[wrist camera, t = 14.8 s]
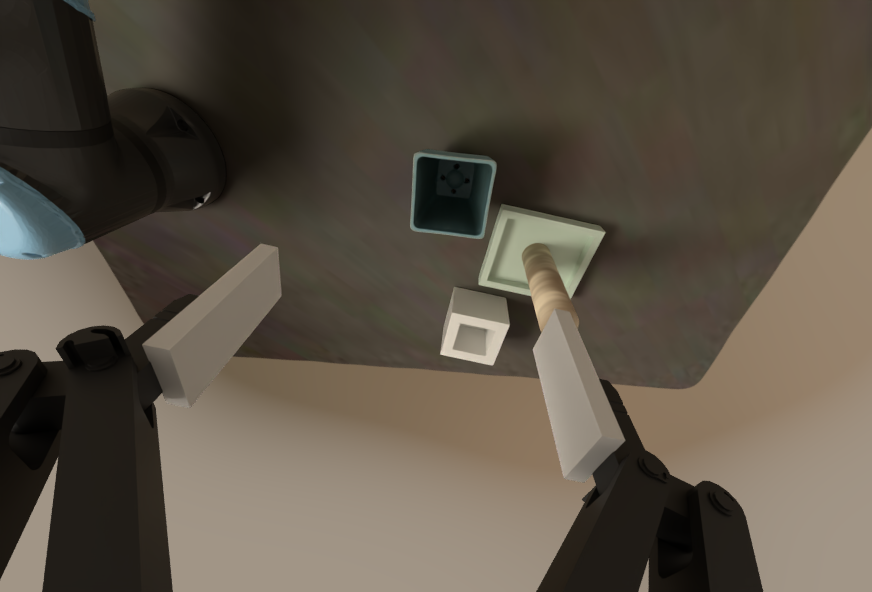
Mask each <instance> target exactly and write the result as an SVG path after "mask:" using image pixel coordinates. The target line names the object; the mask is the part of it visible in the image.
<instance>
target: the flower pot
mask: <svg viewBox="0 0 872 592" xmlns="http://www.w3.org/2000/svg"><path fill="white" fill-rule="evenodd" d="M456 164H458V165H459V167H458V168H455V165H456ZM496 169H497V163H496V162H495V161H494V160H493V159H491V158H490V157H488V156H482V155H473V154H464V153H455V152H446V151H438V150H430V149H427V150H422V151H419V152H417V153H415V154H414V157H413V179H412V202H411V219H410V228H411V229H412V230H414V231H417V232H426V233H435V234H436V233H437V234H445V235H452V236H460V237H467V238H475V239H482V238H483V237H484V235H485V229H486V223H487V217H488V211H489V205H490V200H491V194H492V189H493V184H494V179H495V174H496ZM442 176H445V179H444V180H443V179H442V178H441V177H442ZM466 178H468V179H469V182H466V181H465V179H466ZM453 189H455V190H456V192H455V193H452V190H453Z"/></svg>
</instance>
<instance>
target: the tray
mask: <svg viewBox="0 0 872 592" xmlns="http://www.w3.org/2000/svg"><path fill="white" fill-rule="evenodd" d="M604 234H605V231H604V230H603V229H602V227H601V226H599V225H595V224H590V223H586V222H581V221H577V220H572V219H568V218H563V217H559V216H554V215H550V214H545V213H541V212H536V211H532V210H527V209H523V208H519V207H514V206H510V205H505V204H501V207H500V210H499V213H498V216H497V220H496V223H495V226H494V229H493V233H492V236H491V239H490V242H489V245H488V249H487V252H486V255H485V258H484V261H483V265H482V268H481V271H480V274H479V285H482V286H487V287H492V288H496V289H501V290H505V291H510V292H515V293H519V294H524V295H529V296H531V292H530V288H529V284H528V280H527V277H526V273H525V269H524V265H523V261H522V253H523V251H524V249H525V248H526V247H527V246H529V245H531V244H534V243H541V244H544V245H546V246H547V247H548V248H549V250H550V253H551V255H552V257H553V260H554V262H555V265H556V267H557V269H558V272H559V274H560V276H561V279H562V281H563V283H564V286H565V288H566V290H567V293H568V295H569V297H570V299H571V297H572V295H573V294H574V292H575V290H576V288H577V286H578V284H579V282H580V280H581V278H582V276H583V274H584V273H585V271H586V269H587V267H588V265H589V263H590V261H591V259H592V257H593V255H594V253H595V252H596V250H597V248H598V246H599V244H600V242H601V240H602V238H603V236H604Z"/></svg>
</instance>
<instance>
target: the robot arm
mask: <svg viewBox="0 0 872 592" xmlns="http://www.w3.org/2000/svg"><path fill="white" fill-rule="evenodd" d="M93 21H96V20H95V16H94V14H93V13H92V12H91V10H90V7H89V3H88V0H0V255H2V256H6V257H10V258H16V259H29V260H32V259H41V258H45V257H49V256H52V255H54V254H57V253H60V252H63V251H66V250H68V249H75V248H79V247H81V246H82V245H84V244H85V243H88V242H90V241H92V240H95V239H97V238H99V237H101V236H103V235H106V234H108V233H110V232H112V231H114V230H117V229H119V228H121V227H123V226H125V225H128V224H130V223H132V222H134V221H136V220H139V219H141V218H143V217H145V216H147V215H150V214H152V213H154V212H173V211H191V210H195V209H199V208H201V207H203V206H205V205H207V204H209V203H211V202H213V201H214V200H216V199H217V198H218V197H219V196H220V194H221V193H222V191H223V188H224V185H225V181H226V167H225V161H224V157H223V154H222V151H221V149H220V146H219V144H218V142H217V140H216V139H215V137H214V135H213V133H212V132H211V131H210V129H209V128H208V126H207V125H206V124H205V123H204V121H203V120H202V119H201V118H200V117H199V116H198V115H197V114H196V113H195V112H194V111H193V110H192V109H191V108H189V107H188V106H187V105H186V104H184V103H183V102H181V101H180V100H178V99H177V98H175V97H173V96H171V95H169V94H167V93H165V92H162V91H159V90H155V89H150V88H130V89H122V90H119V91H115V92H113V93H111V94H110V95H108V96H107V93H106V88H105V83H104V78H103V73H102V67H101V62H100V57H99V52H98V46H97V41H96V36H95V31H94V26H93ZM280 297H281V282H280V268H279V255H278V247H274V246H269V245H265V244H260V245H259V246H258V247H256V248H255V249H254V250H253V251H252V252H251V253H249V254H248V255H247V256H246V257H245V258H243V259H242V260H241V261H240V262H239V263H238V264H236V265H235V266H234V267H233V268H232V269H231V270H229V271H228V272H227V273H226V274H225V275H223V276H222V277H221V278H220V279H219V280H218V281H216V282H215V283H214V284H213V285H212V286H210V287H209V288H208V289H207V290H206V291H205V292H203V293H202V294H201V295H200V296H197V295H192V294H188V295H186V296H184V297H181V298H179V299H177V300H174V301H173V302H172V303H170V304H169V305H168V306H167V307H165V308H164V309H163V311H162V312H161V311H160V312H159V313H158V314H156V315H155V316H154V317H153V319H150V320H149V321H148V322H146V323H145V324H144V325H143V326H141V327H140V328H139V329H138V330H136V331H135V332H134V333H133V334H131V335H130V336H129V337H127V338H126V339H125V340H124V337H123V335H122V333H121V331H120V330H119V329H117V328H115V327H111V326H94V327H89V328H85V329H81V330H78V331H76V332H74V333H72V334H70V335H68V336H67V337H65V338H64V339H62V340H61V341H60V342H59V344H58V345H57V347H56V350H57V352H58V353H59V355H60V356H61V358H62V359H63V361H53V362H41V360H40V359H39V357H38V356H37V355H36V353H35V352H32V351H29V350H10V351H4V352H0V579H1V577H2V575H3V573H4V570H5V568H6V566H7V564H8V562H9V560H10V558H11V555H12V553H13V551H14V549H15V547H16V545H17V543H18V541H19V539H20V536H21V534H22V532H23V530H24V528H25V526H26V524H27V522H28V520H29V517H30V515H31V513H32V511H33V509H34V507H35V505H36V503H37V500H38V498H39V496H40V494H41V492H42V490H43V488H44V485H45V483H46V481H47V479H48V477H49V475H50V473H51V471H52V469H53V466H54V464H55V462H56V460H57V458H58V465H57V473H56V482H55V490H54V499H53V507H52V515H51V524H50V532H49V540H48V548H47V557H46V565H45V573H44V582H43V590H42V592H173V590H172V579H171V568H170V557H169V547H168V536H167V525H166V514H165V504H164V493H163V482H162V471H161V461H160V450H159V439H158V429H157V418H156V408H155V405H154V403H153V402H154V401H155V400H156V399H157V398H158V396H159V395H160V394H161V393H163V396H164V398H165V401H166V403H167V404H171V405H177V406H182V407H187V408H191V407H192V405H193V404H194V403H195V402H196V400H197V399H198V398H199V397H200V395H201V394H202V393H203V392H204V390H205V389H206V388H207V387H208V386H209V384H210V383H211V382H212V380H214V378H215V377H216V376H217V375H218V373H219V372H220V371H221V370H222V368H223V367H224V366H225V365H226V364H227V362H228V361H229V360H230V359H231V357H232V356H233V355H234V354H235V352H236V351H237V350H238V349H239V348H240V346H241V345H242V344H243V343H244V341H245V340H246V339H247V338H248V337H249V335H250V334H251V333H252V332H253V330H254V329H255V328H256V327H257V325H258V324H259V323H260V322H261V321H262V319H263V318H264V317H265V316H266V314H267V313H268V312H269V311H270V310H271V308H272V307H273V306H274V305H275V303H276V302H277V301H278V300H279V298H280ZM533 352H534V356H535V360H536V365H537V369H538V373H539V377H540V381H541V385H542V390H543V394H544V398H545V402H546V406H547V410H548V414H549V418H550V423H551V427H552V431H553V435H554V439H555V443H556V448H557V452H558V456H559V459H560V464H561V468H562V472H563V477H564V479H568V480H573V481H579V482H585V481H586V480H587V479H588V478H589V477H590V476H591V475H592V474H593V477H594V480H595V483H596V486H595V487H594V488H593V489H592V490H591V491H590V492H589V493H588V494H587V495H586V496H585V497H584V498H583V499H582V500H583V501H584V502H585V503H584V505H583V507H582V509H581V510H580V512H579V514H578V516H577V518H576V520H575V521H574V523H573V525H572V527H571V529H570V531H569V532H568V534H567V536H566V538H565V540H564V542H563V543H562V546H561V547H560V549H559V551H558V553H557V555H556V556H555V558H554V560H553V562H552V564H551V566H550V567H549V569H548V571H547V573H546V575H545V577H544V579H543V580H542V582H541V584H540V586H539V588H538V590H537V591H536V592H638V591H639V587H640V584H641V581H642V577H643V574H644V571H645V568H646V565H647V561H648V558H649V592H763V589H762V585H761V580H760V576H759V572H758V567H757V563H756V559H755V555H754V550H753V546H752V542H751V538H750V533H749V529H748V525H747V520H746V517H745V515H744V512H743V509H742V508H741V506H740V505H739V504H738V502H737V501H736V499H735V498H734V497H732V495H731V494H730V493H729V492H727V491H726V490H725V489H723V488H722V487H720V486H719V485H717V484H715V483H713V482H710V481H702V482H700V483H699V484H697V485H696V486H695V487H694V486H692V485H690V484H688V483H686V482H684V481H682V480H680V479H678V478H676V477H674V476H672V475H670V474H669V472H668V469H667V468H666V467H665V465H664V464H663V463H662V462H661V461H660V460H659V459H658V458H657V457H656V456H655V455H653V454H651V453H650V452H648V451H646V450H645V449H644V447H643V445H642V442H641V440H640V438H639V436H638V434H637V432H636V430H635V428H634V426H633V423H632V421H631V419H630V417H629V415H627V411H626V409H625V407H624V406H623V402H622V400H621V398H620V396H619V394H618V392H617V391H616V389H615V388H614V387H613V386H612V385H611V384H610V382H609V381H607V380H602V379H599V378H598V376H597V374H596V371H595V369H594V367H593V364H592V362H591V360H590V357H589V355H588V353H587V351H586V348H585V346H584V344H583V341H582V339H581V337H580V334H579V332H578V330H577V327H576V325H575V323H574V320H573V318H572V316H571V313H570V312H568V311H564V310H559V309H555V308H554V310H553V312H552V314H551V316H550V318H549V320H548V322H547V324H546V325H545V327H544V329H543V331H542V333H541V335H540V337H539V339H538V340H537V342H536V344H535V346H534V348H533Z"/></svg>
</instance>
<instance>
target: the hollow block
mask: <svg viewBox="0 0 872 592" xmlns="http://www.w3.org/2000/svg"><path fill="white" fill-rule="evenodd" d="M509 326H510V322H509V315H508V308H507V301H506V298H505V297H500V296H495V295H491V294H486V293H481V292H477V291H472V290H468V289H463V288H458V287H454V290H453V294H452V298H451V301H450V305H449V309H448V313H447V316H446V320H445V324H444V329H443V337H442V345H441V353H440V354H441V355H445V356H450V357H455V358H460V359H464V360H469V361H474V362H479V363H483V364H488V365H493V364H494V362H495V359H496V357H497V354H498V352H499V350H500V347H501V345H502V342H503V340H504V338H505V335H506V333H507V330H508V328H509Z"/></svg>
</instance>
